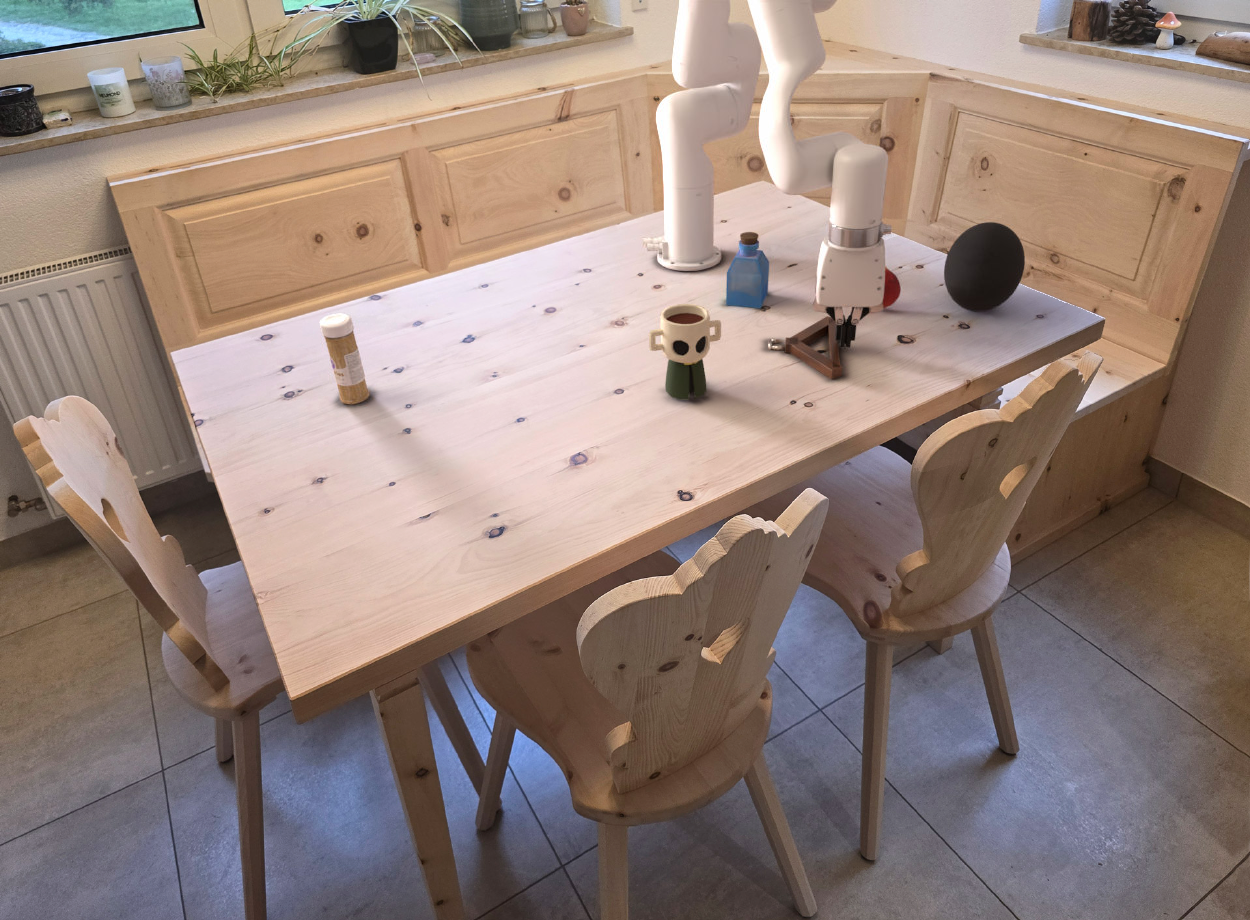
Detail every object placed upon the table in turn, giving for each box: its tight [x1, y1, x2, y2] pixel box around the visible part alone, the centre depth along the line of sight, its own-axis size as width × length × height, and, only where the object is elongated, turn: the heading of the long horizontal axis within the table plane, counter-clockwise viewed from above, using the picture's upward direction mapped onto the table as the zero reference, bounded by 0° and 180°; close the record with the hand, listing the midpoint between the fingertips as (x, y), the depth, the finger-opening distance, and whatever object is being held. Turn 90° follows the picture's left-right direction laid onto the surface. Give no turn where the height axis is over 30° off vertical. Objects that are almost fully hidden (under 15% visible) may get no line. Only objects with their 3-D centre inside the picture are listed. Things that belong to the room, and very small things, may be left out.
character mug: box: [648, 303, 722, 401], centre depth 131 cm, size 11×7×13 cm, turn 104°
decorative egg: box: [943, 221, 1026, 312], centre depth 149 cm, size 12×12×15 cm
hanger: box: [767, 315, 843, 380], centre depth 143 cm, size 11×19×2 cm, turn 172°
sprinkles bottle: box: [319, 313, 370, 405], centre depth 134 cm, size 5×5×13 cm
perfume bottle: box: [725, 231, 770, 309], centre depth 157 cm, size 6×6×12 cm
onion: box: [883, 265, 902, 309], centre depth 152 cm, size 6×6×8 cm
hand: (844, 343), depth 142 cm, fingers closed
